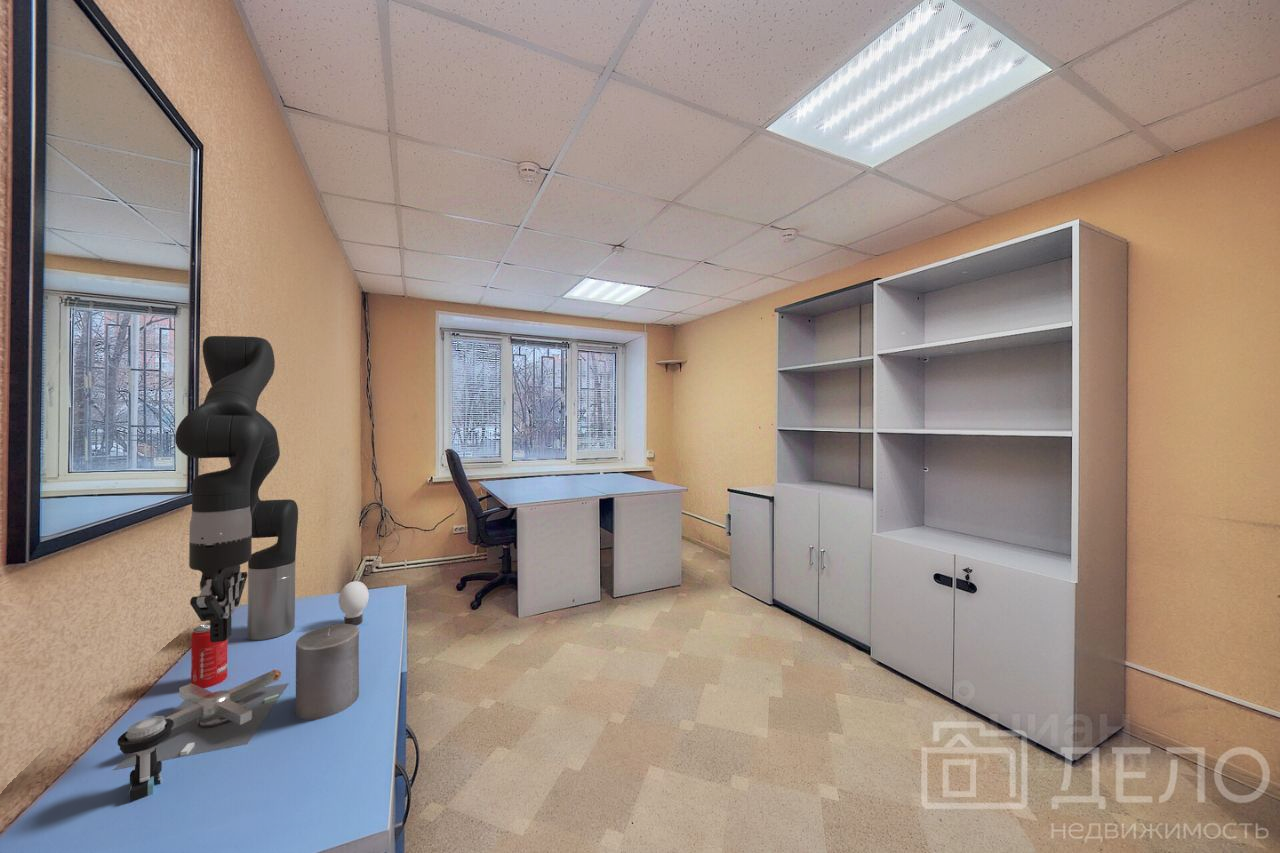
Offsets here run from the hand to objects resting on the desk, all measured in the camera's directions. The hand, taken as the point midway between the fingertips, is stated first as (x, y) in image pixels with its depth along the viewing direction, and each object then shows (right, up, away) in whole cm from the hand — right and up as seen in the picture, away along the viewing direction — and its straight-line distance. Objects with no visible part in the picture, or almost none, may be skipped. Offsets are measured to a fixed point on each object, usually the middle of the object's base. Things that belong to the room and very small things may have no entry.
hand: (220, 639), depth 74 cm
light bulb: (-6, -17, +44) cm, 47 cm away
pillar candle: (+11, -17, +9) cm, 23 cm away
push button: (-1, -17, -10) cm, 20 cm away
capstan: (-5, -16, +4) cm, 17 cm away
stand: (-5, -17, +4) cm, 18 cm away
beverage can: (-17, -17, +15) cm, 28 cm away
